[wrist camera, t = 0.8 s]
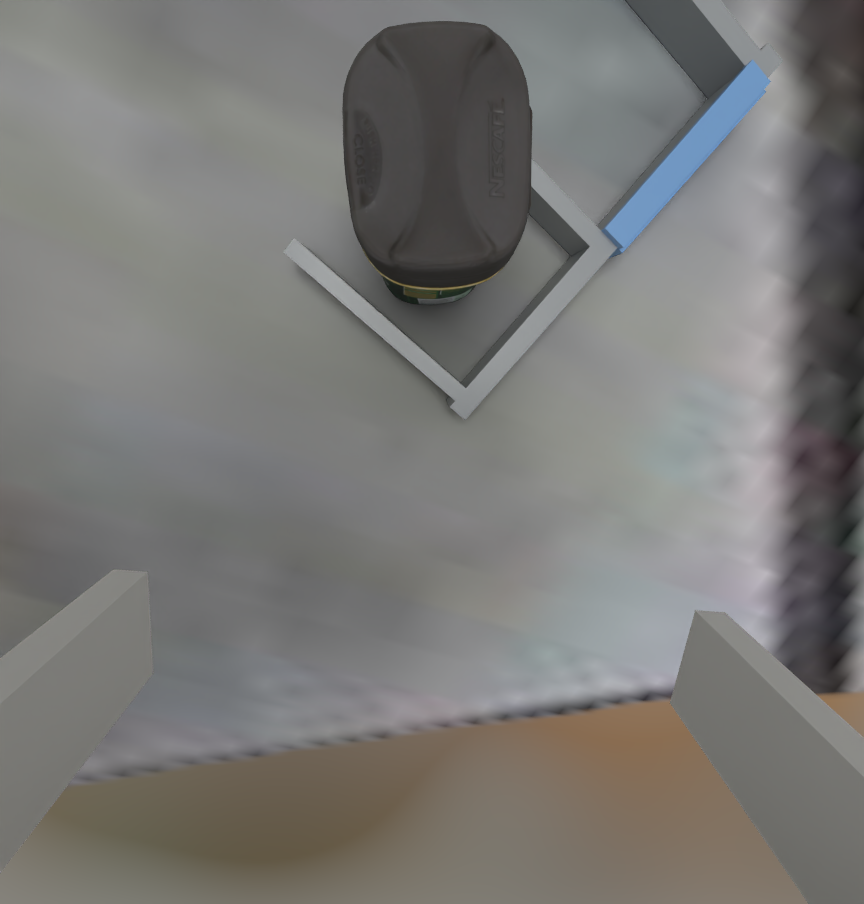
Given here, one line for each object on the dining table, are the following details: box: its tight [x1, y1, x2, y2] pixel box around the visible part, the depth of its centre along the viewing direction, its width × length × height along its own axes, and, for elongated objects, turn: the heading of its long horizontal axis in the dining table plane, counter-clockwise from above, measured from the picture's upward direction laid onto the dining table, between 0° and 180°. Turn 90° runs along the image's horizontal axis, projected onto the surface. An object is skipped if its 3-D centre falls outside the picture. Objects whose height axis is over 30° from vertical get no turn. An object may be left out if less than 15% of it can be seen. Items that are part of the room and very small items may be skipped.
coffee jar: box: [343, 21, 532, 304], centre depth 26 cm, size 10×8×19 cm
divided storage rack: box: [284, 0, 783, 420], centre depth 32 cm, size 18×30×5 cm, turn 139°
